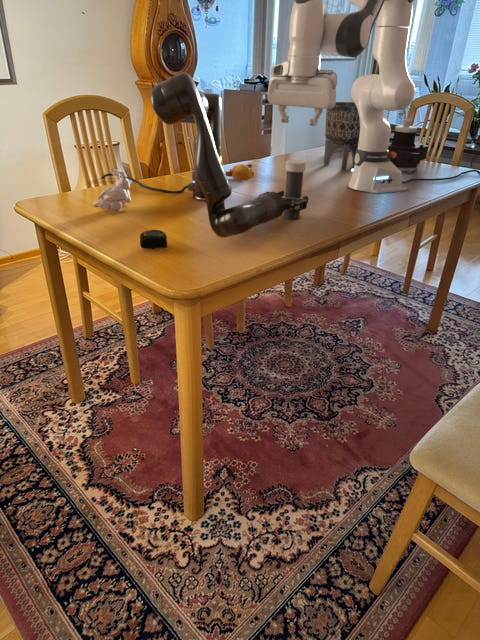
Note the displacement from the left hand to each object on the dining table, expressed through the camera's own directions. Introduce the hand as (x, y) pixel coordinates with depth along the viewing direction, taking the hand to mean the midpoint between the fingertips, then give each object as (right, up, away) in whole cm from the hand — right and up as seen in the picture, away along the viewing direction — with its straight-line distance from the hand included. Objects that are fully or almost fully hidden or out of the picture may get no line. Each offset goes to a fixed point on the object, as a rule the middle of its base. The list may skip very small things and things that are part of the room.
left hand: (294, 196), depth 141 cm
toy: (-16, +20, +46) cm, 53 cm away
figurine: (-57, -3, +5) cm, 58 cm away
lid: (0, +8, -6) cm, 10 cm away
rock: (+40, +53, +104) cm, 124 cm away
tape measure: (-39, -20, -23) cm, 49 cm away
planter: (+30, +33, +70) cm, 83 cm away
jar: (-1, -6, +2) cm, 6 cm away
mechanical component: (+59, +32, +70) cm, 96 cm away
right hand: (0, +18, -11) cm, 21 cm away
